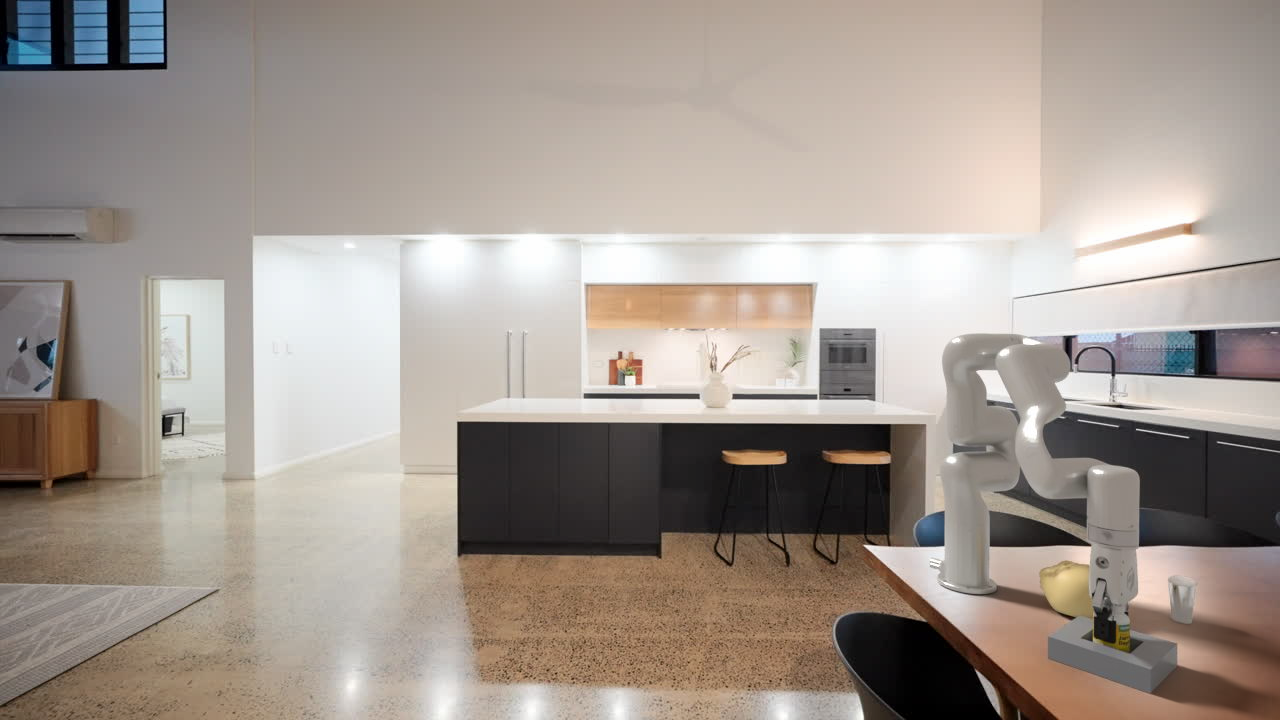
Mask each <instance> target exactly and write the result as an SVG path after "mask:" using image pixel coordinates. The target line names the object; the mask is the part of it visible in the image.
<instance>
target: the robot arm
mask: <svg viewBox="0 0 1280 720" xmlns="http://www.w3.org/2000/svg"><path fill="white" fill-rule="evenodd" d="M941 365H942V366H941V367H942V372H943V376H944V381H945V386H946V431H947V433H946V434H947V436H948V439H949V440H950V442H951V443H952V444H953V445H956V446H960V447H985V448H986V451H985V450H984V451H962V452H961V451H960V452H955V453H950V454H949V455H947V456H946V457H944V458H943V459H942V461H941V464H940V466H939V473H940V480H941V483H942V484H941V485H942V490H943V499H944V559H943V560H941V559H939V558H935V557H931V558H930V559H929V568H930V569H934V570H938V571H939V574H937V576H936V578H937V583H939V584H940V585H941V586H942V587H945V589H946V588H947V589H949V590H951V591H956V592H959V593H965V594H970V595H988V594H992V593H995V592H996V591H997V588H998V587H997V584H998V583H997V582H996V581H994V580H993V579H991V578H990V553H991V552H990V546H991V545H990V542H991V540H990V538H991V537H990V530H991V529H990V525H991V523H990V521H991V519H990V518H991V517H990V510H989V508H988V506H987V503H986V502H985V500H984V499H983V497H982V495H981V494H983V493H992V492H1006V491H1009V490H1012V489H1014V488H1015V487H1016V486H1017V484H1018V482H1019V480H1020V479H1019V478H1020V474H1021V473H1020V471H1022V473H1023V475H1024V477H1025V480H1026V481H1027V484H1029V486H1030V487H1031V488H1032V490H1033V491H1034V492H1035V493H1036V494H1037V495H1039V496H1040V497H1042V498H1044V499H1048V500H1065V499H1067V500H1068V499H1086V541H1087V542H1088V543H1089V544H1091V545H1090V555H1089V557H1090V558H1089V596H1090V597H1091V598H1092V599H1093V601H1092V606H1093V608H1094V613H1093V615H1094V638H1096V639H1099V640H1102V641H1105V642H1108V643H1111V644H1114V643H1116V621H1114V615H1115V607H1116V605H1117V606H1119V607H1121V606H1124V605H1125V604H1126V611H1125V612H1124V613H1125V614H1126V615H1127V616H1128V617H1129V612H1128V611H1129V603H1130V602H1131V601H1132V600H1134V599H1136V597H1137V596H1138V594H1139V575H1138V572H1139V571H1138V557H1137V550H1138V549H1139V548H1140V547H1139V546H1140V545H1139V544H1140V497H1141V496H1140V495H1141V494H1140V492H1141V491H1140V490H1141V489H1140V487H1141V486H1140V485H1141V483H1140V482H1141V480H1140V479H1141V478H1140V475H1139V474H1138V472H1137V471H1136V470H1135V469H1132V468H1130V467H1126V466H1122V465H1113V464H1109V463H1106V462H1105V461H1101V460H1099V459H1097V458H1096V459H1095V458H1092V457H1068V458H1067V457H1066V458H1065V457H1064V458H1062V457H1060V458H1059V457H1058V458H1052V455H1051V454H1050V453H1049V450H1048V448H1047V446H1046V444H1045V441H1044V435H1043V434H1044V433H1043V430H1044V426H1045V425H1046V424H1049V423H1050V422H1053V421H1055V420H1056V419H1057V418H1060V417H1061V416H1062V415H1063V414H1065V413H1064V412H1066V409H1067V404H1066V401H1065V400H1064V397H1063V396H1062V394H1061V392H1060V390H1059V388H1058V386H1057V385H1056V383H1059V382H1060V383H1061V382H1063V381H1064V380H1065V379H1066V378H1067V377H1068V376H1069V374H1070V371H1071V360H1070V358H1069V356H1068V354H1067V353H1066V351H1065V350H1064V349H1062V347H1060V346H1058V345H1057V344H1054V343H1052V342H1051V343H1050V342H1047V341H1045V340H1041V339H1036V338H1033V337H1029V336H1026V335H1023V334H1016V333H988V332H987V333H986V332H985V333H984V332H983V333H966V334H960V335H957V336H955V337H953V338H951V339H950V340H949V341H948V343H947V344H946V345H945V347H944V349H943V353H942V356H941ZM978 371H997V373H998V375H999V377H1000V379H1001V382H1002V384H1003V385H1004V387H1005V389H1006V392H1007V394H1008V396H1009V398H1010V400H1011V401H1012V404H1013V406H1014V408H1015V410H1016V412H1017V415H1018V417H1019V418H1020V419H1019V422H1018V420H1017V418H1016V416H1015V414H1014V413H1013V412H1012V411H1011V410H1010V409H1009V408H1007V407H1005V406H1000V405H988V403H987V401H988V397H987V395H988V394H987V393H988V392H987V386H986V385H985V382H984V380H983V378H982V377H981V375H980V374H979V373H978ZM1105 597H1106V598H1109V599H1110V600H1111V602H1108V601H1104V599H1105ZM1104 604H1106V605H1109V606H1110V608H1109V611H1108V609H1107V608H1106V607H1104Z"/></svg>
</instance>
